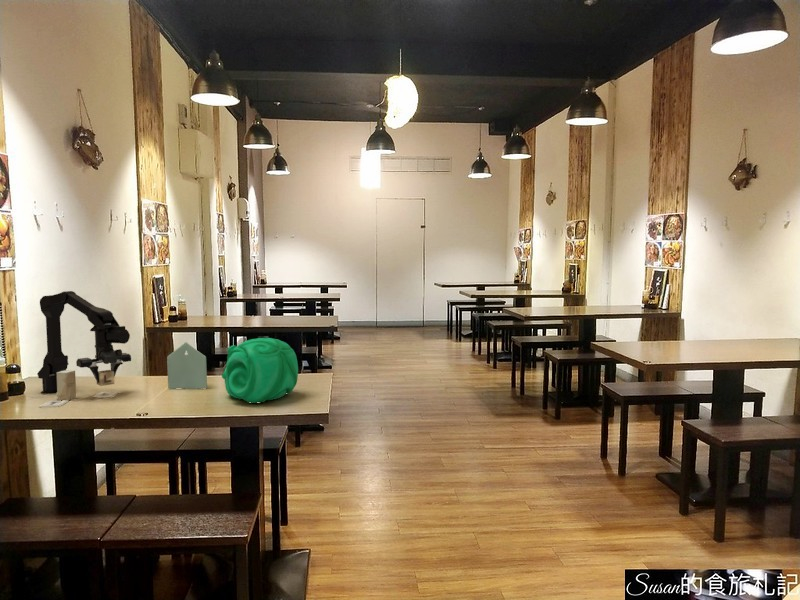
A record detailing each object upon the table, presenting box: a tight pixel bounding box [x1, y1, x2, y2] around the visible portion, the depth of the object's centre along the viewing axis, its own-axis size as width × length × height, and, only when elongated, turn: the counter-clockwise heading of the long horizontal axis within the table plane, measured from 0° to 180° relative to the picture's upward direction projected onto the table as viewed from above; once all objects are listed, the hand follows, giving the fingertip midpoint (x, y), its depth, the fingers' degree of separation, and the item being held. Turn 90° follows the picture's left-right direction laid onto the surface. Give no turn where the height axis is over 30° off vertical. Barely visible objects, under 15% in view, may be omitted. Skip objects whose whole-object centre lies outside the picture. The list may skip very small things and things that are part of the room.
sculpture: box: [221, 337, 299, 403], centre depth 222 cm, size 27×28×30 cm
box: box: [56, 369, 77, 401], centre depth 221 cm, size 5×4×11 cm
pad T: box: [38, 400, 69, 408], centre depth 213 cm, size 7×7×1 cm
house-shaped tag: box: [166, 342, 208, 390], centre depth 240 cm, size 16×8×20 cm, turn 88°
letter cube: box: [96, 369, 115, 387], centre depth 226 cm, size 5×5×5 cm
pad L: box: [93, 391, 120, 398], centre depth 227 cm, size 7×7×1 cm
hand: (105, 381), depth 226 cm, fingers closed on letter cube, 5 cm apart
